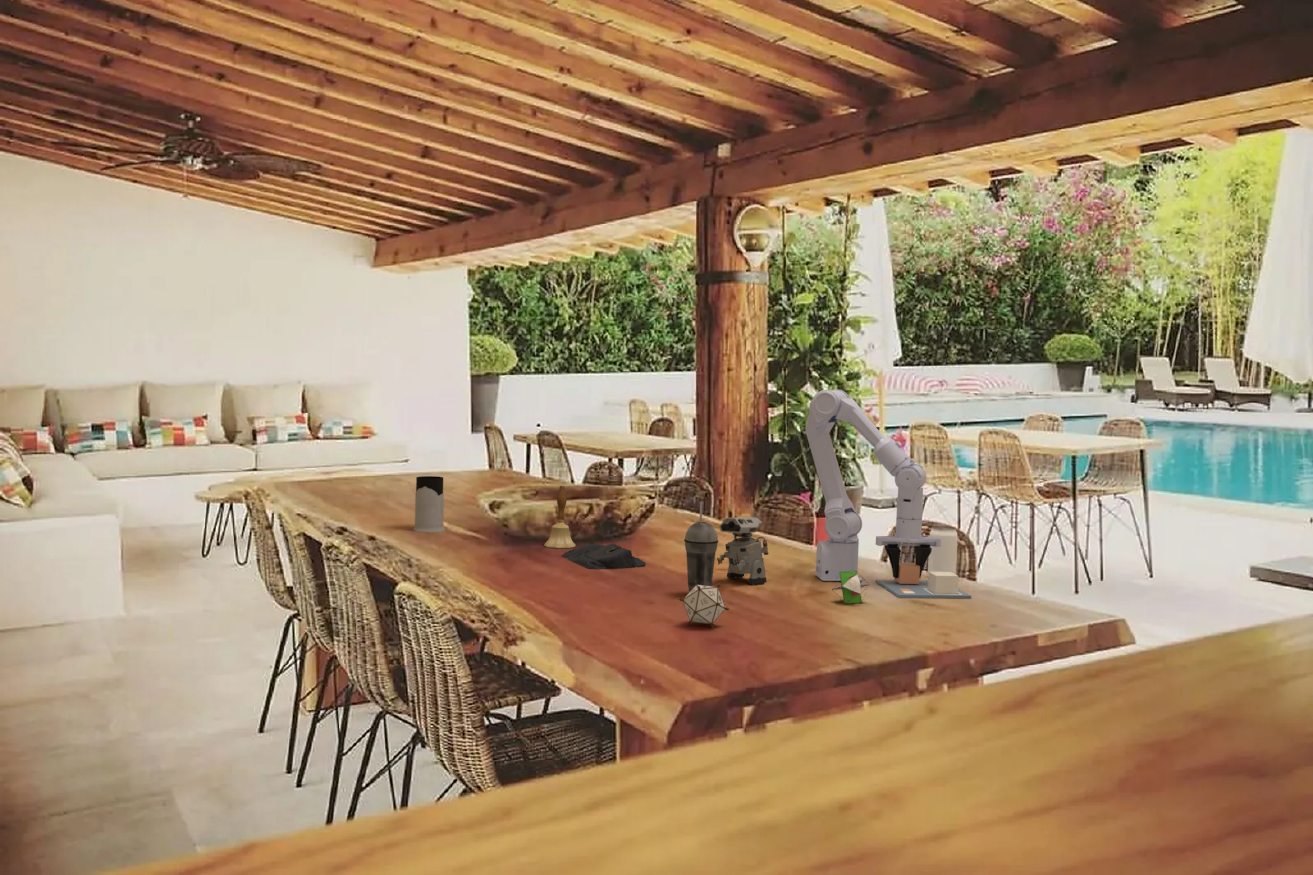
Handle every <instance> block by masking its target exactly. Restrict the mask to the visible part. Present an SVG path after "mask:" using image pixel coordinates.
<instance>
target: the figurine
mask: <svg viewBox="0 0 1313 875" xmlns="http://www.w3.org/2000/svg"><path fill="white" fill-rule="evenodd" d="M762 524H763V522H762V521H761V520H760V519H759V518H758V517H752V516H737V515H735V516H734V517H726V518H725V519H724V520H723V521H722V522H721V524H720V525H719V530H720V532H721V533H731V534H732V535H733V538H734V539H732V541H728V542H727V543H725V551H724V552H723V554H719V557H718V556H717V557H716V560H717V561H718V563H717V566H719V565H720V564H721V565H722V564H723V561H724V560H725V558H727V559H728V569H727V572H726V578H727V579H729V580H735V579H743V577H745V575H748V574H749V578H748V584H749V585H751V586H757V585H765V583H767V577H766V567H765V562H764V558H763V556H767V555H769V548H768V540H766V539H765V537H763V536H759V537H758V538H757V539H756V538H753V537H752V536H753V533H754V534H755V533H757V530H758V528H761V527H762ZM761 539H763V540H762V541H761Z"/></svg>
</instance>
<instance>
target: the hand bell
mask: <svg viewBox="0 0 1313 875" xmlns="http://www.w3.org/2000/svg"><path fill="white" fill-rule="evenodd" d="M558 488H559V489H558V491H557V494H556V504H557V509H558V513H557V522H556V523H555V524H553V525H552V526H551V531H550V532H551V533H550V536H549V538H548V540H547V541H546V542H545V543H544V545H543V546H544V547H546V548H550V549H551V548H552V549H553V548H554V549H572V548H573V549H574V548H575V547H576V543H574V541H573V540H572V537H571V533H570V528H569V527H570V526H569V525H567V524H566V523H565V509H566V508H565V507H566V504H567V499H568V498H567V497H568V496H567V491H566V486H565V485H560V486H559V487H558Z"/></svg>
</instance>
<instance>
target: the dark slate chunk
mask: <svg viewBox="0 0 1313 875" xmlns="http://www.w3.org/2000/svg"><path fill="white" fill-rule="evenodd" d="M561 557H562V558H563V559H566V560H568V561H570V562H571V563H574V564H576V565H578V566H581V567H583V568H585V569H588V570H592V569H593V570H599V571H600V570H619V569H622V570H623V569H633V568H639V567H645V566H646V564H647V563H646V562H645V561H644V560H642V559H641V558H640V557H635V556H634V555H633V553H632V550H631V549H627V548H625V547H621V546H620V545H617V544H615V543H609V544H607V545H603V544H599V543H595V542H589V543H586V544H583V545H580V546H578V547H577V548H573V549H572V548H571V550H568V551H565V552H564V553H563V554H561Z"/></svg>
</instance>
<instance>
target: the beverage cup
mask: <svg viewBox="0 0 1313 875" xmlns="http://www.w3.org/2000/svg"><path fill="white" fill-rule="evenodd" d="M718 543H719V538H718V533H717V530H716V529H715V527H714V526H713V525H712V524H710V523H709V522H707V521H703V501H699V521H696V522H694V523H692V524H691V525H690V526H689V527H688V528H687V530H686V532H685V537H684V547H685V551H686V569H687V587H688V593H689V592H690V591H691V590H692V589H693V588H694V587H695V586H696V585H695V581H696V582H697V585H706V586H713V578H714V570H715V560H716V552H717V549H718Z"/></svg>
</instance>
